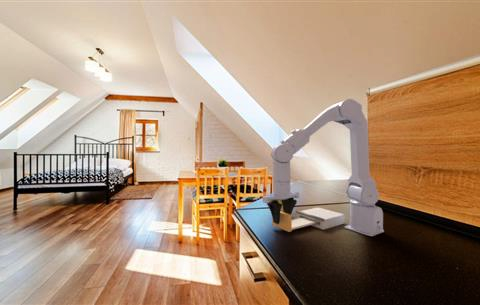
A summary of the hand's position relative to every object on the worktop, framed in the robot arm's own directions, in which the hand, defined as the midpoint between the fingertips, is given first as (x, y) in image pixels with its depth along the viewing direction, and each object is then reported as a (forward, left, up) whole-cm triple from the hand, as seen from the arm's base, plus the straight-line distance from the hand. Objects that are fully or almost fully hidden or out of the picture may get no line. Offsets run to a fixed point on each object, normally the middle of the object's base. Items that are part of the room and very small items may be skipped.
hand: (281, 221), depth 78 cm
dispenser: (0, -19, -3) cm, 20 cm away
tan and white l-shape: (0, -8, -2) cm, 8 cm away
